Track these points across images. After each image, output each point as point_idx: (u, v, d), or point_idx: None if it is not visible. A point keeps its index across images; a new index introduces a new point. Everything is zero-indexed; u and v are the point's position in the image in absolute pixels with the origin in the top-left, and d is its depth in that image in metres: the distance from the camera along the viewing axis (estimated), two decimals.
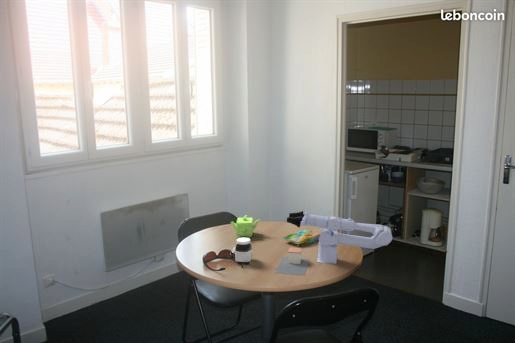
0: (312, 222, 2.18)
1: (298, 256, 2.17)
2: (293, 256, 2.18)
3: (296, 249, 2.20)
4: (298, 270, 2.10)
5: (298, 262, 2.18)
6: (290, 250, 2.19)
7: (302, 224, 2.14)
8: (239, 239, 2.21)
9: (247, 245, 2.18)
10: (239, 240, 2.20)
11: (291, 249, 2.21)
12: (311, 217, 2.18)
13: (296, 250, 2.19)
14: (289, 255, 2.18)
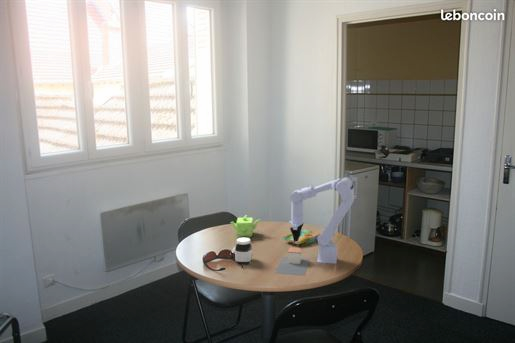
0: (296, 216, 2.22)
1: (298, 256, 2.17)
2: (293, 256, 2.18)
3: (296, 249, 2.20)
4: (298, 270, 2.10)
5: (298, 262, 2.18)
6: (290, 250, 2.19)
7: (295, 228, 2.19)
8: (239, 239, 2.21)
9: (247, 245, 2.18)
10: (239, 240, 2.20)
11: (291, 249, 2.21)
12: (292, 217, 2.24)
13: (296, 250, 2.19)
14: (289, 255, 2.18)
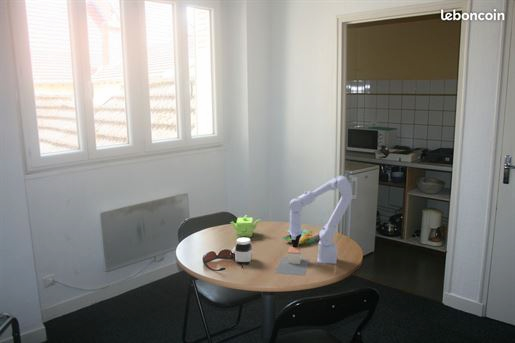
0: (294, 226, 2.18)
1: (298, 256, 2.17)
2: (293, 256, 2.17)
3: (296, 249, 2.20)
4: (298, 270, 2.10)
5: (298, 262, 2.18)
6: (290, 250, 2.19)
7: (293, 237, 2.14)
8: (239, 239, 2.21)
9: (247, 245, 2.18)
10: (239, 240, 2.20)
11: (291, 249, 2.20)
12: (290, 226, 2.19)
13: (296, 250, 2.19)
14: (289, 255, 2.18)
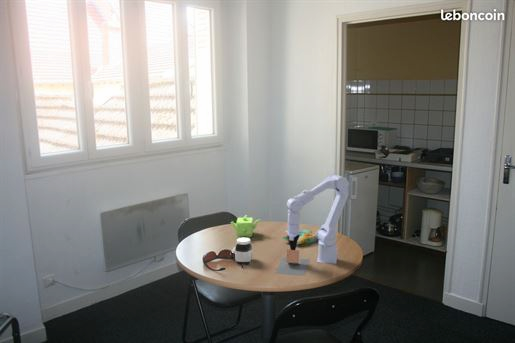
0: (292, 226, 2.11)
1: (297, 263, 2.14)
2: None
3: (294, 255, 2.13)
4: (298, 270, 2.10)
5: (298, 263, 2.17)
6: (288, 258, 2.14)
7: (291, 238, 2.08)
8: (239, 239, 2.21)
9: (247, 245, 2.18)
10: (239, 240, 2.20)
11: (289, 255, 2.14)
12: (288, 227, 2.13)
13: (294, 257, 2.13)
14: (288, 262, 2.15)
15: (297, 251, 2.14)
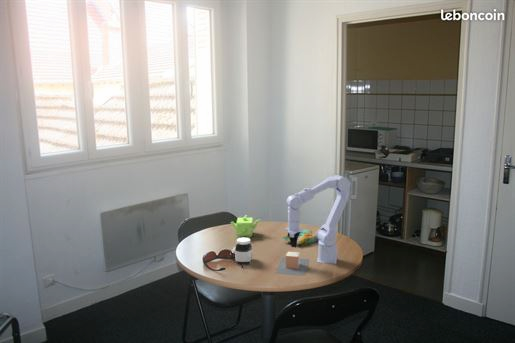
0: (293, 223, 2.11)
1: None
2: None
3: (294, 261, 2.12)
4: (298, 270, 2.10)
5: None
6: (288, 264, 2.13)
7: (292, 235, 2.08)
8: (239, 239, 2.21)
9: (247, 245, 2.18)
10: (239, 240, 2.20)
11: (288, 261, 2.12)
12: (288, 224, 2.13)
13: (294, 263, 2.12)
14: None
15: (296, 257, 2.11)
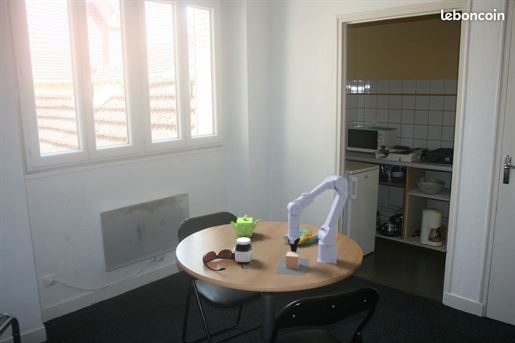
0: (293, 230, 2.13)
1: None
2: None
3: (294, 261, 2.12)
4: (298, 270, 2.10)
5: None
6: (288, 264, 2.13)
7: (292, 241, 2.09)
8: (239, 239, 2.21)
9: (247, 245, 2.18)
10: (239, 240, 2.20)
11: (288, 261, 2.12)
12: (288, 230, 2.15)
13: (294, 263, 2.12)
14: None
15: (296, 258, 2.11)
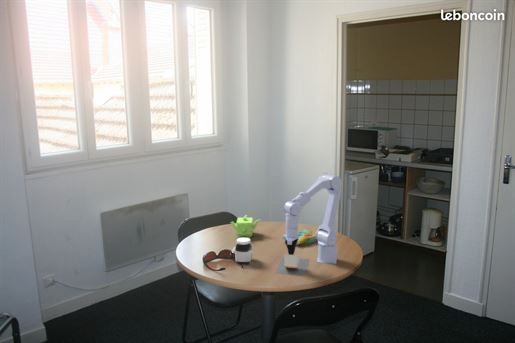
0: (291, 230, 2.06)
1: None
2: None
3: None
4: (298, 270, 2.10)
5: None
6: None
7: (290, 242, 2.02)
8: (239, 239, 2.21)
9: (247, 245, 2.18)
10: (239, 240, 2.20)
11: (287, 267, 2.10)
12: (286, 231, 2.07)
13: None
14: None
15: (294, 268, 2.07)
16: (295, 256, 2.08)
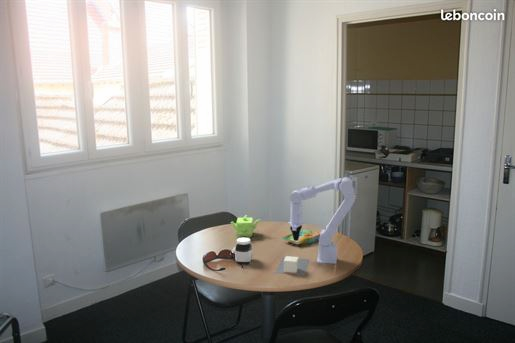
0: (295, 217, 2.19)
1: None
2: None
3: None
4: (298, 270, 2.10)
5: None
6: None
7: (294, 228, 2.16)
8: (239, 239, 2.21)
9: (247, 245, 2.18)
10: (239, 240, 2.20)
11: None
12: (291, 218, 2.21)
13: None
14: None
15: None
16: (294, 263, 2.05)
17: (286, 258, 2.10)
